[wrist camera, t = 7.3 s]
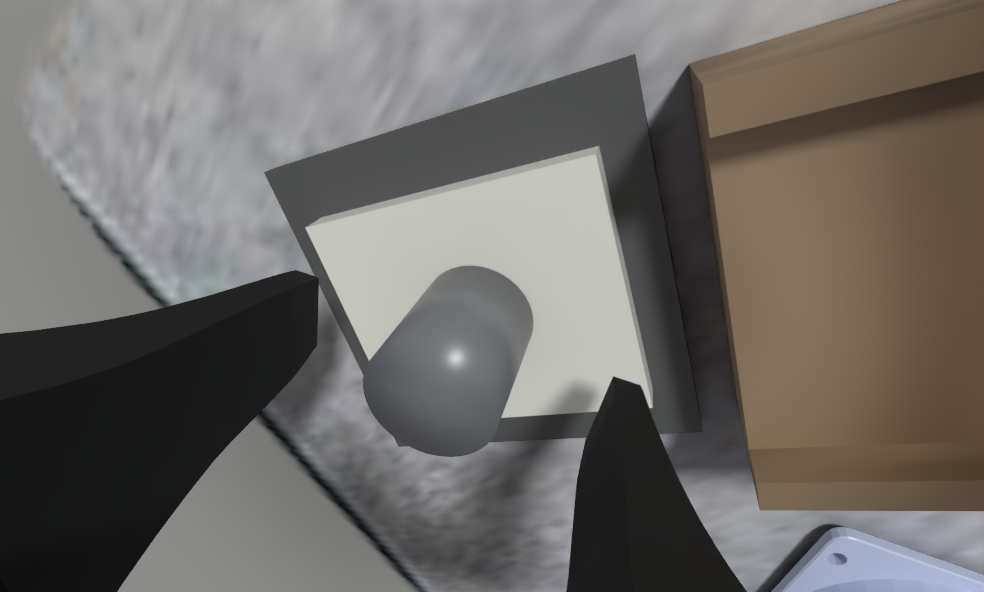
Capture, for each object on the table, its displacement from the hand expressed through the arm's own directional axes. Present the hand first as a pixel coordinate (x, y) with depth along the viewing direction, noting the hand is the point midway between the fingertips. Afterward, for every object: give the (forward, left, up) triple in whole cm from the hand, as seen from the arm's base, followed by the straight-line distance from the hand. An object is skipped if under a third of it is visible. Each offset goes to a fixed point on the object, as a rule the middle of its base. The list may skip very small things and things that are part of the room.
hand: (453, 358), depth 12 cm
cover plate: (0, 0, -3) cm, 3 cm away
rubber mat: (0, 0, -3) cm, 3 cm away
